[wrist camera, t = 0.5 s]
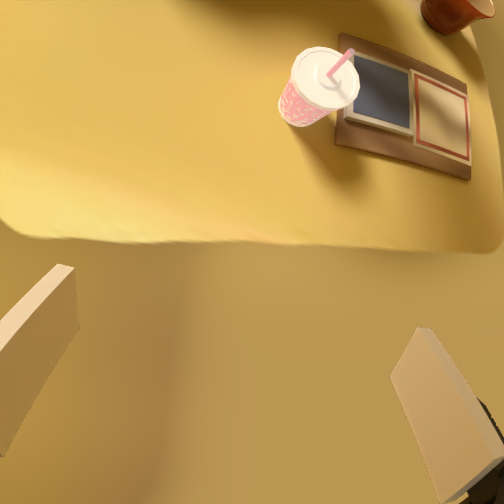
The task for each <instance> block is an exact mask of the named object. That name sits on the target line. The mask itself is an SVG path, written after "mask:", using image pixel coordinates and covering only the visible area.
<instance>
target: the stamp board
mask: <svg viewBox="0 0 504 504" xmlns="http://www.w3.org/2000/svg"><path fill="white" fill-rule="evenodd" d="M350 48H352V49H354V50H355V53H354V54H353V55H352V56H351V57H350V58H349V59H348V60H349V61H350V62H351V63H352V64H353V66H354V68H355V69H356V71H357V73H358V75H359V83H360V89H359V92H358V95H357V98H356V99H355V100H354V101H352V102H351V103H350V104H349V105H348V106H346V107H345V108H342V109H338V110H337V122H336V139H335V145H340V146H344V147H349V148H353V149H358V150H362V151H366V152H370V153H375V154H379V155H383V156H387V157H390V158H394V159H398V160H402V161H405V162H409V163H412V164H416V165H419V166H423V167H426V168H430V169H433V170H436V171H439V172H443V173H446V174H449V175H452V176H455V177H458V178H461V179H464V180H467V181H468V180H471V166H472V161H471V127H470V112H469V100H468V95H467V86H466V84H465V83H463V82H461V81H460V80H458V79H456V78H454V77H452V76H450V75H448V74H446V73H444V72H442V71H440V70H438V69H435V68H433V67H431V66H429V65H427V64H425V63H422V62H420V61H418V60H415V59H413V58H411V57H408V56H406V55H404V54H401V53H399V52H396V51H393V50H391V49H388V48H386V47H383V46H380V45H377V44H375V43H372V42H369V41H366V40H363V39H360V38H357V37H354V36H350V35H347V34H344V33H341V34H340V35H339V53H341V54H343V55H344V54H345V53H346V52H347V51H348V50H349V49H350Z"/></svg>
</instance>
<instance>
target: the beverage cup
mask: <svg viewBox="0 0 504 504" xmlns="http://www.w3.org/2000/svg"><path fill="white" fill-rule="evenodd" d="M354 53H355V50H354V49H352V48H350V49H349V50H348V51H347V52H346V53H345V54H344V55H343V54H341V53H339V52H337V51H335V50H333V49H331V48H325V47H313V48H309V49H306V50H305V51H303V52H302V53H301V54H299V55H298V56H297V58H296V60H295V62H294V64H293V67H292V69H291V76H290V78H289V81H288V83H287V85H286V87H285V89H284V91H283V93H282V95H281V97H280V100H279V102H278V106H279V112H280V114H281V116H282V118H283V119H284V120H285V121H287V122H288V123H289V124H291V125H294V126H296V127H305V126H308V125H311V124H312V123H314V122H316V121H317V120H319V119H321V118H322V117H324V116H326V115H327V114H329V113H331V112H333V111H335V110H338V109H342V108H345V107H346V106H348V105H349V104H350V103H351V102H352V101H354V100H355V99H356V98H357V95H358V92H359V89H360V83H359V75H358V73H357V71H356V69H355V68H354V66H353V64H352V63H351V62H350V61H349V60H348V59H349V58H350V57H351V56H352V55H353V54H354Z"/></svg>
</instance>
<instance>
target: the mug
mask: <svg viewBox="0 0 504 504" xmlns="http://www.w3.org/2000/svg"><path fill="white" fill-rule="evenodd" d="M421 11H422V14H423V16H424V18H425V19H426V21H427V22H428V23H429V24H430V25H431V26H432V27H433V28H434V29H435V30H437V31H438V32H440V33H442V34H444V35H452V34H455V33H458V32H460V31H461V30H463V29H464V28H466V27H467V26H469V25H470V24H472V23H473V22H475V21H477V20H480V19H485V18H492V17H494V16H495V7H494V4H493V2H492V0H423V1H422V2H421Z"/></svg>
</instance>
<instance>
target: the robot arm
mask: <svg viewBox="0 0 504 504" xmlns="http://www.w3.org/2000/svg"><path fill="white" fill-rule="evenodd" d="M79 329H80V324H79V314H78V304H77V293H76V280H75V268H73V267H69V266H65V265H61V264H57V265H56V266H55V267H54V268H53V269H52V270H51V271H49V272H48V273H47V274H46V275H45V276H44V277H43V278H42V279H41V280H40V281H39V282H38V283H37V284H36V285H35V286H34V287H33V288H32V289H31V290H30V291H29V292H28V293H27V294H26V295H25V296H24V297H23V298H22V299H21V300H20V301H19V302H18V303H17V304H16V305H15V306H14V307H13V308H12V309H11V310H10V311H9V312H8V313H7V314H6V315H5V316H4V318H3V319H2V320H1V321H0V457H2V458H4V456H5V454H6V452H7V450H8V449H9V447H10V444H11V443H12V441H13V439H14V437H15V435H16V433H17V431H18V429H19V427H20V426H21V424H22V422H23V420H24V418H25V417H26V415H27V413H28V411H29V410H30V408H31V406H32V404H33V402H34V401H35V399H36V397H37V395H38V394H39V392H40V390H41V389H42V387H43V386H44V384H45V382H46V381H47V379H48V377H49V376H50V374H51V372H52V371H53V369H54V368H55V366H56V364H57V363H58V361H59V360H60V358H61V356H62V355H63V353H64V352H65V350H66V349H67V347H68V346H69V344H70V343H71V341H72V340H73V338H74V336H75V335H76V333H77V332H78V330H79ZM389 377H390V380H391V382H392V384H393V387H394V389H395V391H396V394H397V396H398V398H399V401H400V403H401V405H402V408H403V410H404V412H405V415H406V417H407V420H408V422H409V425H410V427H411V429H412V432H413V434H414V437H415V439H416V442H417V445H418V447H419V450H420V452H421V455H422V457H423V460H424V462H425V465H426V468H427V471H428V473H429V476H430V479H431V482H432V484H433V487H434V490H435V493H436V496H437V499H438V502H439V504H445V503H448V502H451V501H454V500H456V499H458V498H459V497H460V496H462V495H463V494H464V493H465V492H467V493H468V495H469V497H467V498H466V499H465V500H464V501H462V502H461V503H459V504H504V437H503V435H502V434H501V432H500V430H499V428H498V426H496V423H495V421H494V419H493V418H491V414H490V413H489V411H488V409H487V408H486V406H485V405H484V404H483V403H482V402H481V401H480V400H479V399H478V398H477V397H476V396H475V394H474V393H473V391H472V389H471V388H470V386H469V385H468V383H467V381H466V380H465V378H464V377H463V375H462V374H461V372H460V371H459V369H458V367H457V366H456V364H455V363H454V362H453V360H452V358H451V357H450V355H449V354H448V352H447V351H446V349H445V348H444V346H443V345H442V343H441V342H440V341H439V339H438V338H437V336H436V335H435V333H434V332H433V331H432V329H431V328H421V327H417V328H416V330H415V332H414V334H413V336H412V338H411V340H410V341H409V343H408V345H407V347H406V349H405V351H404V352H403V354H402V356H401V358H400V359H399V361H398V363H397V365H396V366H395V368H394V370H393V371H392V373H391V375H390V376H389Z"/></svg>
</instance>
